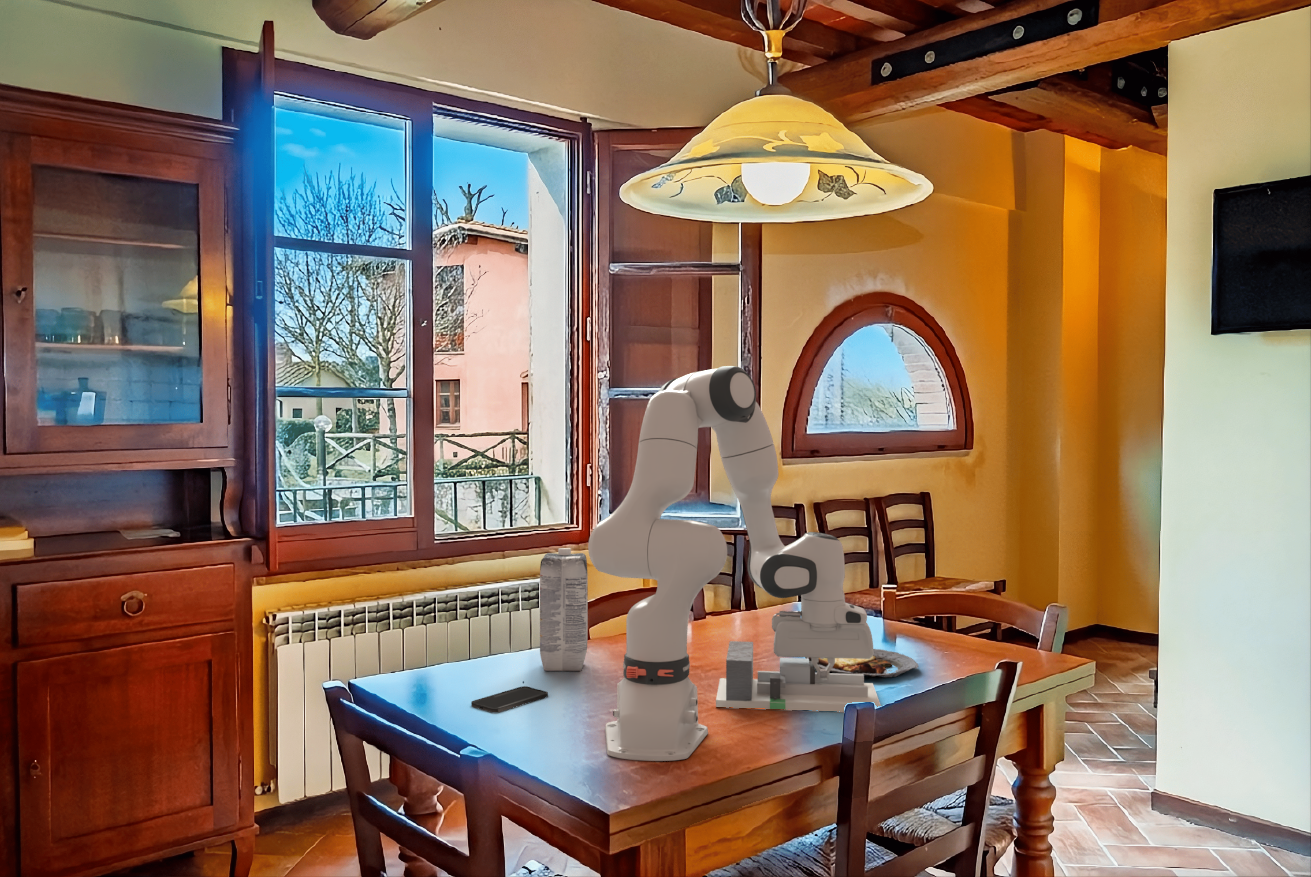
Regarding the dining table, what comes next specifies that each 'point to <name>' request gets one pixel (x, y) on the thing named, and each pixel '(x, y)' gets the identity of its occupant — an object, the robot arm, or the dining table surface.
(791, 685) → the base
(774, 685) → the block
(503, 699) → the phone
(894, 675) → the food plate
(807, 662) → the block
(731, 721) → the dining table surface
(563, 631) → the juice carton
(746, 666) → the grey rectangular block
